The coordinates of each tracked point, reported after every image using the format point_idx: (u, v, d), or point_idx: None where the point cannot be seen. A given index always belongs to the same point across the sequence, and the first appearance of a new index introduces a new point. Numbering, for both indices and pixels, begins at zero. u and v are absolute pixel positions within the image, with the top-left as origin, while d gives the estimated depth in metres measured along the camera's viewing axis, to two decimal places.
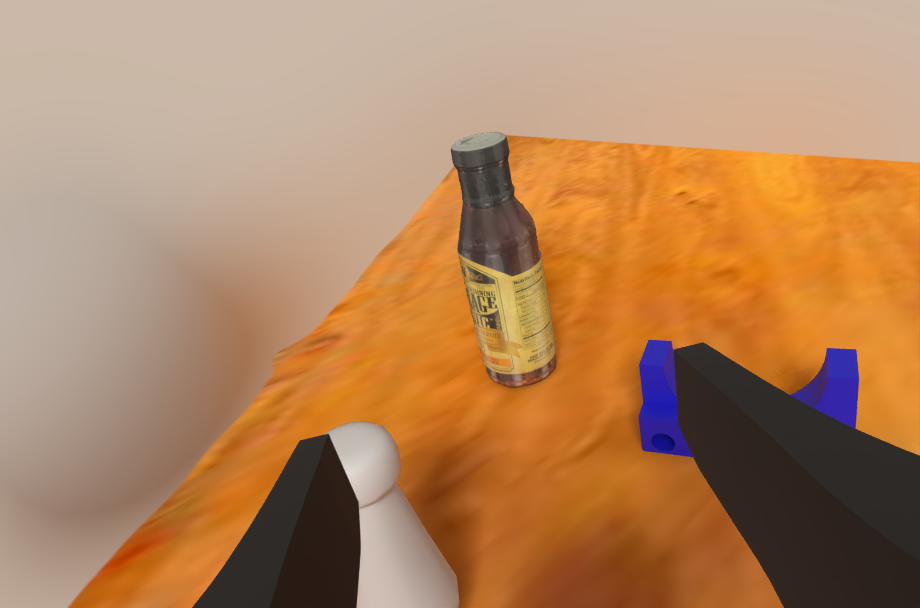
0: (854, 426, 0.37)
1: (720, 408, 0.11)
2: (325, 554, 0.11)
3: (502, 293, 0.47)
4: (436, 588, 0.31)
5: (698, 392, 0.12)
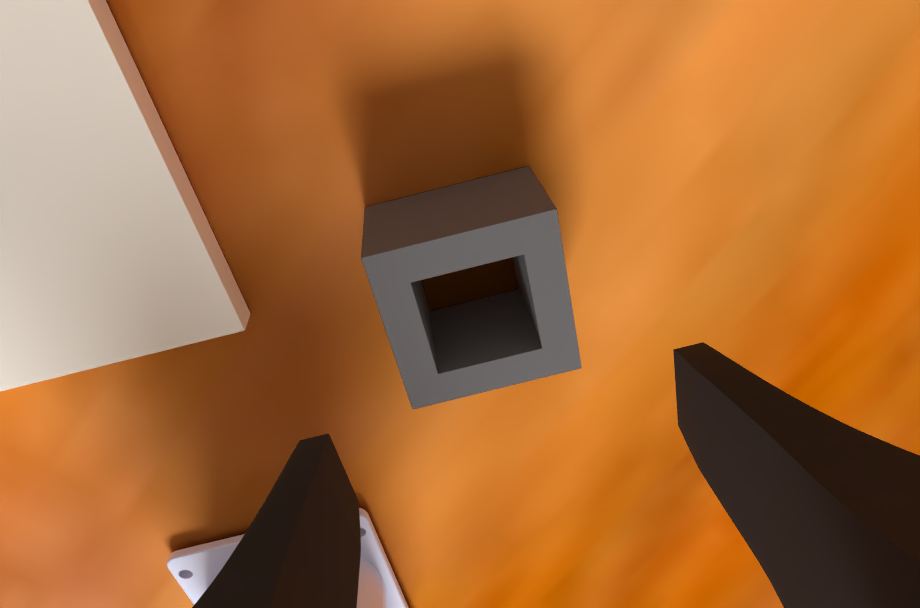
0: None
1: (720, 408, 0.11)
2: (325, 554, 0.11)
3: None
4: None
5: (698, 392, 0.12)
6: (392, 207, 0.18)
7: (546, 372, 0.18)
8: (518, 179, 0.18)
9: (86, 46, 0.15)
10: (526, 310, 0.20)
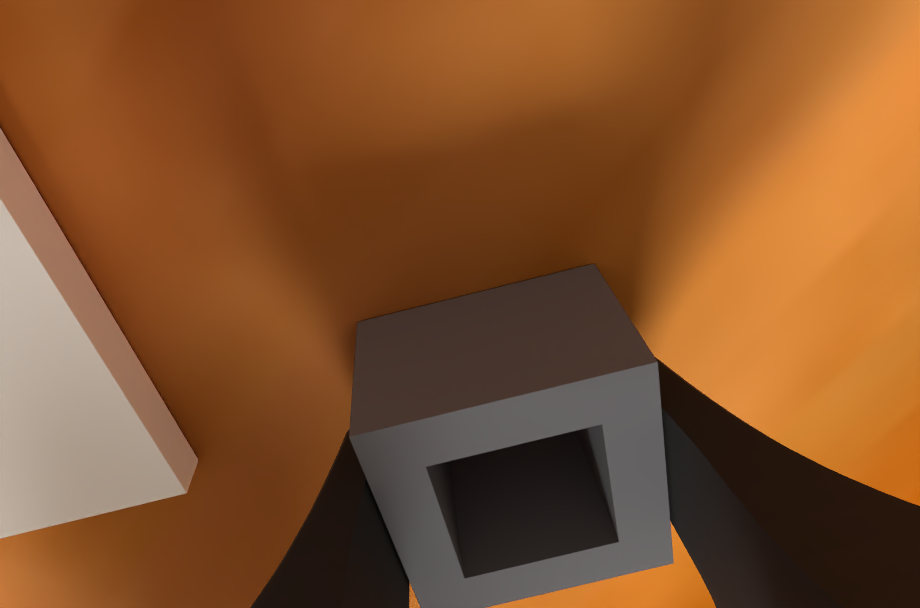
0: None
1: None
2: (382, 541, 0.11)
3: None
4: None
5: None
6: (397, 327, 0.13)
7: (622, 570, 0.12)
8: (583, 288, 0.12)
9: None
10: (586, 462, 0.14)
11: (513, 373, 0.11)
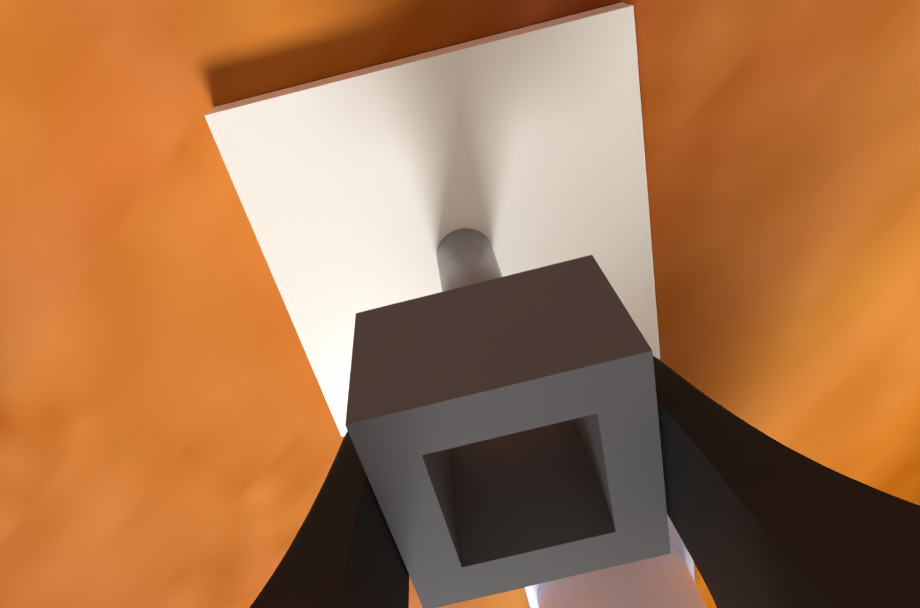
0: None
1: (661, 422, 0.11)
2: (381, 541, 0.11)
3: None
4: None
5: None
6: (395, 318, 0.13)
7: (619, 560, 0.13)
8: (580, 279, 0.12)
9: (626, 138, 0.19)
10: (584, 453, 0.14)
11: (509, 362, 0.11)
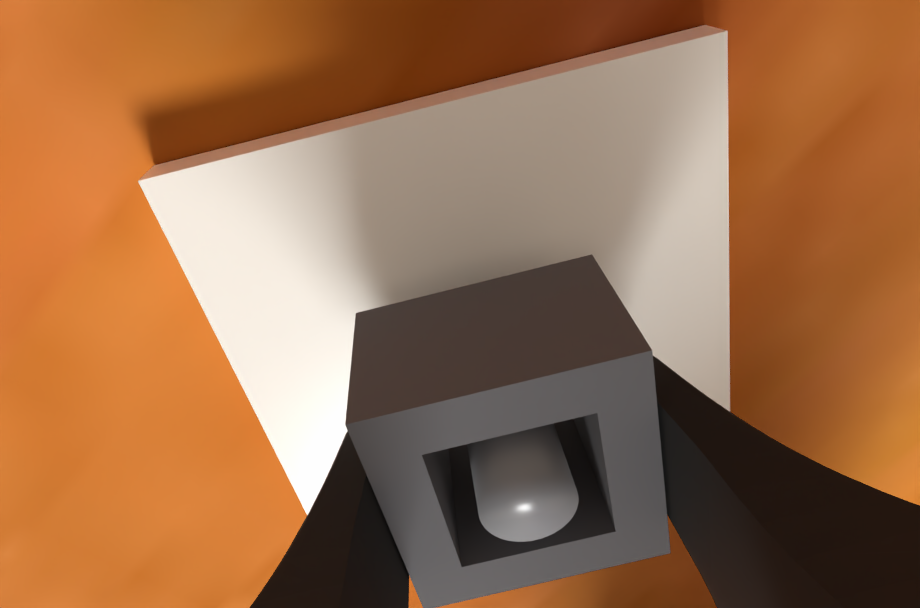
0: None
1: (661, 422, 0.11)
2: (381, 541, 0.11)
3: None
4: None
5: None
6: (395, 317, 0.13)
7: (619, 559, 0.13)
8: (580, 279, 0.12)
9: (706, 204, 0.14)
10: (584, 453, 0.14)
11: (508, 362, 0.11)
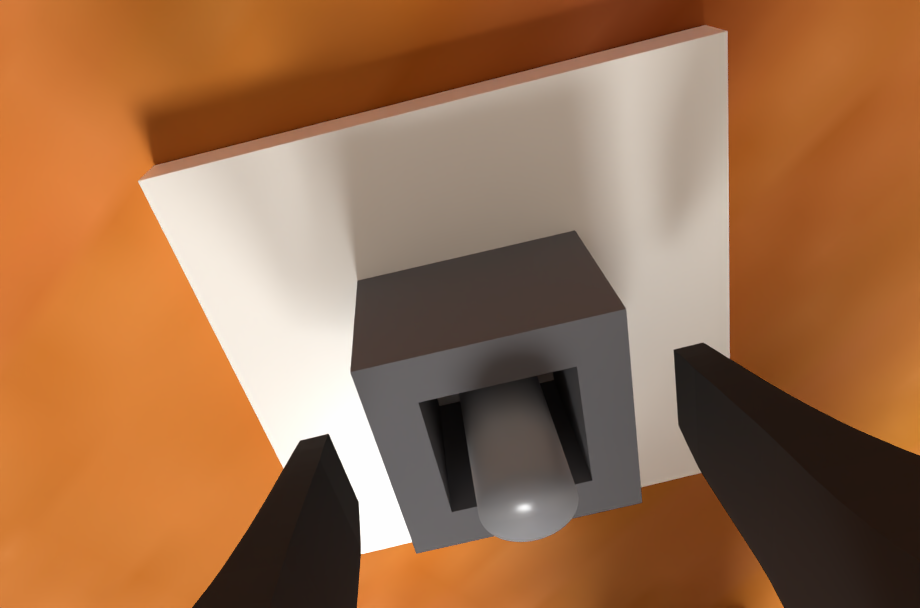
0: None
1: (720, 408, 0.11)
2: (325, 554, 0.11)
3: None
4: None
5: (698, 392, 0.12)
6: (394, 284, 0.14)
7: (595, 508, 0.14)
8: (564, 251, 0.14)
9: (706, 204, 0.14)
10: (565, 414, 0.15)
11: (498, 319, 0.12)
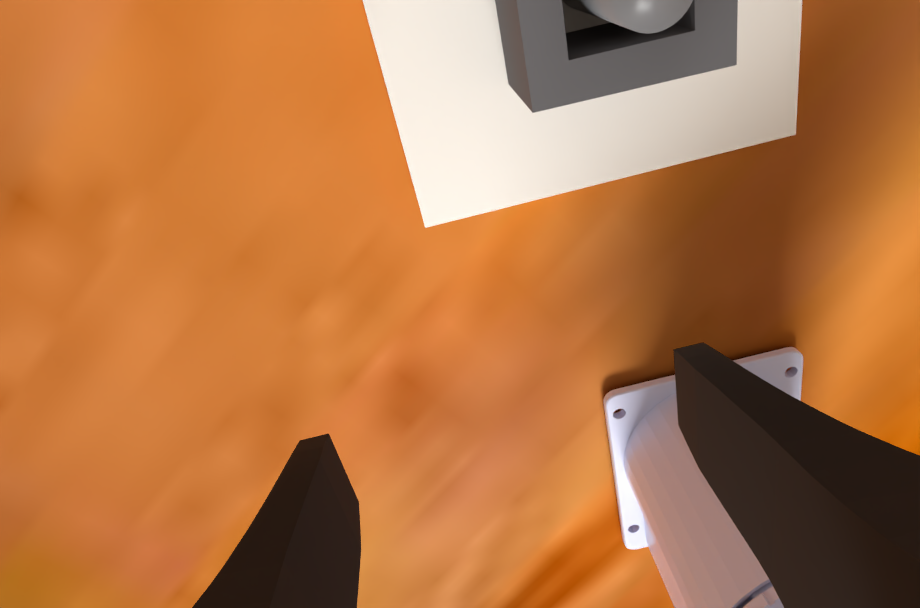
0: None
1: (720, 408, 0.11)
2: (325, 554, 0.11)
3: None
4: None
5: (698, 392, 0.12)
6: None
7: (695, 68, 0.15)
8: None
9: None
10: None
11: None
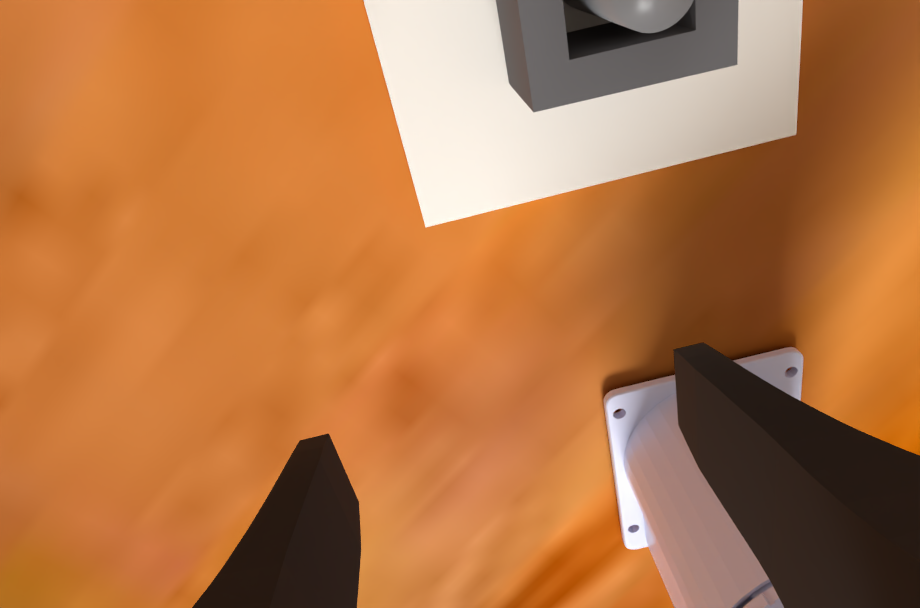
0: None
1: (720, 408, 0.11)
2: (325, 554, 0.11)
3: None
4: None
5: (698, 392, 0.12)
6: None
7: (695, 68, 0.15)
8: None
9: None
10: None
11: None
